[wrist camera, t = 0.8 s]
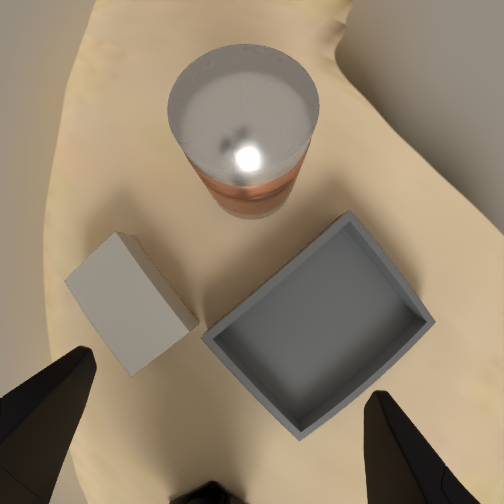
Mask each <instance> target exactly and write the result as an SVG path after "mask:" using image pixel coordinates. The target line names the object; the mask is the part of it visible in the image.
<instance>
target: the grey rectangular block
mask: <svg viewBox="0 0 504 504" xmlns="http://www.w3.org/2000/svg"><path fill="white" fill-rule="evenodd" d="M64 282H65V283H66V285H67V287H68V288H69V290H70V292H71V293H72V295H73V296H74V298H75V300H76V301H77V303H78V304H79V306H80V307H81V309H82V310H83V312H84V313H85V315H86V316H87V318H88V319H89V321H90V322H91V324H92V325H93V327H94V328H95V330H96V331H97V332H98V334H99V335H100V337H101V338H102V339H103V341H104V342H105V344H106V345H107V346H108V348H109V349H110V350H111V352H112V353H113V354H114V356H115V357H116V358H117V360H118V361H119V362H120V364H121V365H122V366H123V367H124V369H125V370H126V371H127V372H128V374H129V375H130V376H131V377H132V376H133V375H134V374H136V373H137V372H138V371H140V370H141V369H142V368H144V367H145V366H146V365H148V364H149V363H150V362H151V361H153V360H154V359H155V358H157V357H158V356H159V355H161V354H162V353H163V352H164V351H166V350H167V349H168V348H170V347H171V346H172V345H173V344H175V343H176V342H177V341H179V340H180V339H181V338H182V337H184V336H185V335H186V334H188V333H189V332H190V331H191V330H192V329H194V328H195V327H196V326H197V325H198V324H199V322H198V321H197V319H196V318H195V317H194V316H193V314H192V313H191V312H190V311H189V309H188V308H187V307H186V305H185V304H184V303H183V302H182V300H181V299H180V298H179V296H178V295H177V294H176V293H175V291H174V290H173V289H172V287H171V286H170V285H169V283H168V282H167V281H166V279H165V278H164V277H163V275H162V274H161V273H160V271H159V270H158V269H157V267H156V266H155V265H154V263H153V262H152V261H151V259H150V258H149V257H148V255H147V254H146V252H145V251H144V250H143V248H142V247H141V245H140V244H139V243H138V241H137V240H136V238H135V237H134V236H131V235H127V234H124V233H120V232H116V231H115V232H114V233H113V234H112V235H111V236H110V237H109V238H108V239H106V240H105V241H104V242H103V243H102V244H101V245H100V246H99V247H98V248H97V249H96V250H95V251H94V252H93V253H92V254H91V255H90V256H89V257H88V258H87V259H86V260H85V261H84V262H83V263H82V264H81V265H80V266H79V267H78V268H77V269H76V270H75V271H74V272H73V273H72V274H71V275H70V276H69V277H68V278H67V279H66V280H65V281H64Z"/></svg>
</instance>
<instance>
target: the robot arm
mask: <svg viewBox="0 0 504 504" xmlns="http://www.w3.org/2000/svg"><path fill="white" fill-rule="evenodd" d="M96 369H97V365H96V362H95V358H94V355H93V352H92V350H91V348H88V347H85V346H78V347H76V348H75V349H73V350H72V351H70V352H69V353H67V354H66V355H64V356H63V357H61V358H60V359H58V360H57V361H55V362H54V363H52V364H51V365H49V366H47V367H46V368H44V369H43V370H41V371H40V372H38V373H37V374H36V375H34V376H32V377H31V378H29V379H28V380H27V381H25V382H23V383H22V384H21V385H19V386H18V387H16V388H15V389H13V390H12V391H10V392H9V393H7V394H6V395H4V396H3V397H2V398H0V504H49V502H50V499H51V496H52V492H53V490H54V487H55V484H56V481H57V478H58V475H59V473H60V470H61V467H62V464H63V462H64V459H65V457H66V454H67V451H68V449H69V446H70V444H71V441H72V439H73V436H74V434H75V431H76V429H77V426H78V424H79V421H80V419H81V417H82V414H83V412H84V409H85V406H86V403H87V399H88V396H89V393H90V389H91V386H92V383H93V380H94V376H95V373H96ZM364 461H365V473H366V485H367V499H368V504H480V503H479V501H478V500H477V499H476V498H475V497H474V496H473V495H472V494H471V493H470V492H469V491H468V490H467V489H466V488H465V487H464V486H463V485H462V484H461V483H460V482H459V480H458V479H457V478H456V477H455V476H454V474H453V473H452V472H451V471H450V469H449V468H448V467H447V466H445V463H444V462H443V461H442V459H441V458H440V457H439V455H438V454H437V453H436V452H435V450H434V449H433V448H432V447H431V445H430V444H429V443H428V442H427V440H426V439H425V438H424V436H423V435H422V434H421V433H420V431H419V430H418V429H417V428H416V426H415V425H414V424H413V423H412V421H411V420H410V419H409V418H408V416H407V415H406V414H405V413H404V411H403V410H402V409H401V408H400V406H399V405H398V404H397V403H396V401H395V400H394V399H393V398H392V397H391V395H390V394H389V393H388V392H387V391H381V390H376V391H374V392H373V393H372V395H371V397H370V398H369V400H368V401H367V403H366V405H365V407H364ZM211 485H213V486H215V487H212V486H211ZM169 504H244V503H243V502H242V501H240V500H239V499H238V498H236V497H235V496H234V495H233V494H231V493H229V492H228V491H226V490H225V489H224V488H223V487H221V486H220V485H219V484H218V483H216V482H214V481H211V482H208V483H206V484H205V485H203V486H201V487H199V488H197V489H195V490H193V491H191V492H189V493H187V494H185V495H183V496H181V497H179V498H177V499H175V500H173V501H171V502H170V503H169Z"/></svg>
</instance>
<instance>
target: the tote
mask: <svg viewBox="0 0 504 504" xmlns="http://www.w3.org/2000/svg"><path fill="white" fill-rule="evenodd" d="M434 324H435V320H434V319H433V317H432V316H431V314H430V313H429V312H428V310H427V309H426V307H425V306H424V304H423V303H422V302H421V300H420V299H419V297H418V296H417V295H416V293H415V292H414V290H413V289H412V288H411V286H410V285H409V284H408V282H407V281H406V279H405V278H404V277H403V275H402V274H401V273H400V271H399V270H398V269H397V267H396V266H395V265H394V264H393V262H392V261H391V260H390V258H389V257H388V256H387V254H386V253H385V252H384V251H383V249H382V248H381V247H380V246H379V244H378V243H377V242H376V240H375V239H374V238H373V237H372V235H371V234H370V233H369V232H368V231H367V229H366V228H365V227H364V226H363V224H362V223H361V222H360V221H359V220H358V218H357V217H356V216H355V215H354V214H353V212H352V211H351V210H348V211H347V212H345V213H344V214H342V215H341V216H340V217H339V218H337V219H336V220H335V221H334V222H333V223H332V224H331V225H330V226H328V227H327V228H326V229H325V230H324V231H323V232H322V233H320V234H319V235H318V236H317V237H316V238H315V239H314V240H313V241H311V242H310V243H309V244H308V245H307V246H306V247H305V248H303V249H302V250H301V251H300V252H299V253H298V254H297V255H295V256H294V257H293V258H292V259H291V260H290V261H288V262H287V263H286V264H285V265H284V266H283V267H281V268H280V269H279V270H278V271H277V272H276V273H275V274H273V275H272V276H271V277H270V278H269V279H268V280H266V281H265V282H264V283H263V284H262V285H260V286H259V287H258V288H257V289H256V290H255V291H253V292H252V293H251V294H250V295H249V296H248V297H246V298H245V299H244V300H243V301H242V302H240V303H239V304H238V305H237V306H236V307H234V308H233V309H232V310H231V311H230V312H228V313H227V314H226V315H225V316H224V317H222V318H221V319H220V320H219V321H218V322H216V323H215V324H214V325H213V326H212V327H210V328H209V329H208V330H207V331H206V332H205V333H204V334H203V336H202V337H201V339H202V340H203V341H204V342H205V344H206V345H207V346H208V347H209V348H210V349H211V350H212V352H213V353H214V354H215V355H216V356H217V357H218V358H219V359H220V360H221V362H222V363H223V364H224V365H225V366H226V367H227V368H228V369H229V370H230V371H231V373H232V374H233V375H234V376H235V377H236V378H237V379H238V380H239V381H240V382H241V383H242V384H243V385H244V386H245V387H246V389H247V390H248V391H249V392H250V393H251V394H252V395H253V396H254V397H255V398H256V399H257V400H258V401H259V402H260V403H261V404H262V405H263V406H264V407H265V408H266V409H267V410H268V411H269V412H270V413H271V414H272V415H273V416H274V417H275V418H276V419H277V420H278V421H279V422H280V423H281V424H282V425H283V426H284V427H285V428H286V429H287V430H288V431H289V432H290V433H291V434H292V435H293V436H294V437H295V438H296V439H298V440H299V441H300V440H302V439H303V438H305V437H306V436H308V435H309V434H310V433H312V432H313V431H314V430H316V429H317V428H319V427H320V426H321V425H323V424H324V423H325V422H327V421H328V420H329V419H330V418H332V417H333V416H334V415H336V414H337V413H338V412H339V411H341V410H342V409H343V408H344V407H346V406H347V405H348V404H349V403H351V402H352V401H353V400H354V399H355V398H357V397H358V396H359V395H360V394H361V393H363V392H364V391H365V390H366V389H367V388H368V387H370V386H371V385H372V384H373V383H374V382H375V381H376V380H378V379H379V378H380V377H381V376H382V375H383V374H384V373H385V372H386V371H387V370H389V369H390V368H391V367H392V366H393V365H394V364H395V363H396V362H397V361H398V360H399V359H400V358H401V357H402V356H403V355H404V354H405V353H406V352H407V351H408V350H409V349H410V348H411V347H412V346H413V345H414V344H415V343H416V342H417V341H418V340H419V339H420V338H421V337H422V336H423V335H424V334H425V333H426V332H427V331H428V330H429V329H430V328H431V327H432V326H433V325H434Z"/></svg>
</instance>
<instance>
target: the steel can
mask: <svg viewBox="0 0 504 504" xmlns="http://www.w3.org/2000/svg"><path fill="white" fill-rule="evenodd" d="M318 115H319V97H318V93H317V89H316V87H315V84H314V82H313V80H312V78H311V77H310V75H309V74H308V73H307V71H306V70H305V69H304V68H303V67H302V66H301V65H300V64H299V63H298V62H297V61H295V60H294V59H293V58H291V57H290V56H288V55H286V54H285V53H283V52H280V51H278V50H276V49H273V48H269V47H266V46H260V45H252V44H239V45H231V46H226V47H222V48H219V49H216V50H213V51H211V52H209V53H206V54H204V55H203V56H201V57H199V58H198V59H196V60H195V61H194V62H192V63H191V64H190V65H189V66H188V67H187V68H186V69H185V70H184V71H183V72H182V73H181V75H180V76H179V77H178V79H177V80H176V82H175V84H174V86H173V88H172V90H171V93H170V96H169V100H168V120H169V125H170V128H171V131H172V133H173V135H174V137H175V139H176V140H177V142H178V143H179V145H180V146H181V148H182V149H183V151H184V153H185V155H186V157H187V159H188V160H189V162H190V163H191V165H192V166H193V168H194V169H195V171H196V172H197V174H198V175H199V177H200V178H201V180H202V181H203V183H204V184H205V186H206V187H207V189H208V190H209V192H210V193H211V195H212V196H213V197H214V199H215V200H216V201H217V202H218V204H219V205H220V206H221V207H222V208H223V209H224V210H225V211H226V212H228V213H229V214H231V215H233V216H235V217H238V218H242V219H252V220H254V219H260V218H264V217H267V216H269V215H271V214H273V213H275V212H276V211H277V210H279V209H280V208H281V207H282V206H283V204H284V203H285V202H286V200H287V199H288V197H289V194H290V192H291V191H292V188H293V186H294V183H295V181H296V178H297V176H298V173H299V171H300V168H301V165H302V163H303V160H304V158H305V155H306V153H307V150H308V147H309V145H310V141H311V137H312V134H313V131H314V129H315V126H316V123H317V120H318Z"/></svg>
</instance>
